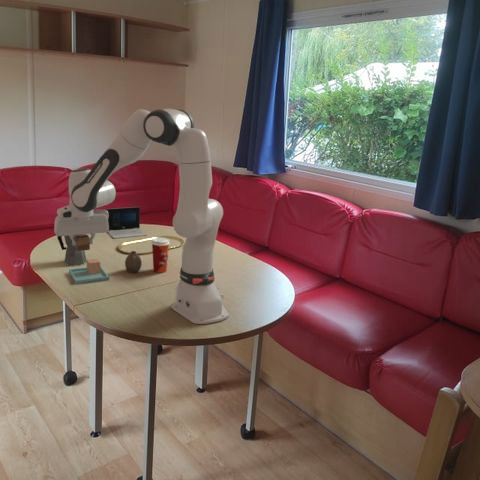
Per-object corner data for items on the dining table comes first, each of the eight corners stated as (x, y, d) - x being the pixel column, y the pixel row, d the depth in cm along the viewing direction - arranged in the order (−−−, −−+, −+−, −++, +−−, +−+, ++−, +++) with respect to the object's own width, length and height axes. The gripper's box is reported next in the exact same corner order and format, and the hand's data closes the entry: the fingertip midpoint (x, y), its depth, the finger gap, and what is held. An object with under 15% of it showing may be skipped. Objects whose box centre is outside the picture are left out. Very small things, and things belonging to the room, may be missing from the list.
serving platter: (110, 247, 234) (110, 244, 234) (169, 236, 258) (169, 233, 257) (131, 258, 221) (131, 255, 221) (191, 245, 245) (191, 243, 244)
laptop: (113, 239, 246) (113, 214, 242) (106, 232, 257) (106, 208, 253) (147, 236, 255) (147, 212, 251) (139, 229, 265) (139, 206, 262)
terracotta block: (97, 269, 203) (97, 258, 202) (100, 273, 199) (100, 262, 198) (86, 270, 201) (86, 259, 199) (89, 274, 197) (89, 263, 196)
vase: (144, 269, 208) (144, 250, 205) (136, 275, 202) (136, 255, 199) (129, 267, 210) (129, 248, 207) (122, 272, 203) (121, 253, 201)
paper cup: (165, 274, 204) (166, 243, 200) (148, 272, 206) (148, 241, 201) (171, 268, 212) (172, 238, 207) (155, 266, 213) (155, 236, 209)
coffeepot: (79, 256, 219) (78, 217, 213) (94, 260, 215) (93, 221, 209) (51, 265, 206) (49, 224, 201) (67, 270, 202) (65, 229, 196)
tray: (108, 279, 195) (108, 276, 194) (75, 284, 189) (75, 280, 188) (100, 269, 206) (100, 265, 205) (69, 272, 199) (69, 269, 199)
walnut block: (89, 249, 189) (89, 237, 188) (78, 250, 187) (77, 238, 186) (87, 246, 193) (86, 234, 191) (75, 247, 191) (75, 235, 189)
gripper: (106, 207, 193) (106, 239, 197) (52, 209, 183) (54, 244, 187) (110, 210, 188) (111, 244, 192) (55, 214, 178) (57, 249, 182)
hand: (82, 244), depth 189 cm, fingers closed on walnut block, 4 cm apart
